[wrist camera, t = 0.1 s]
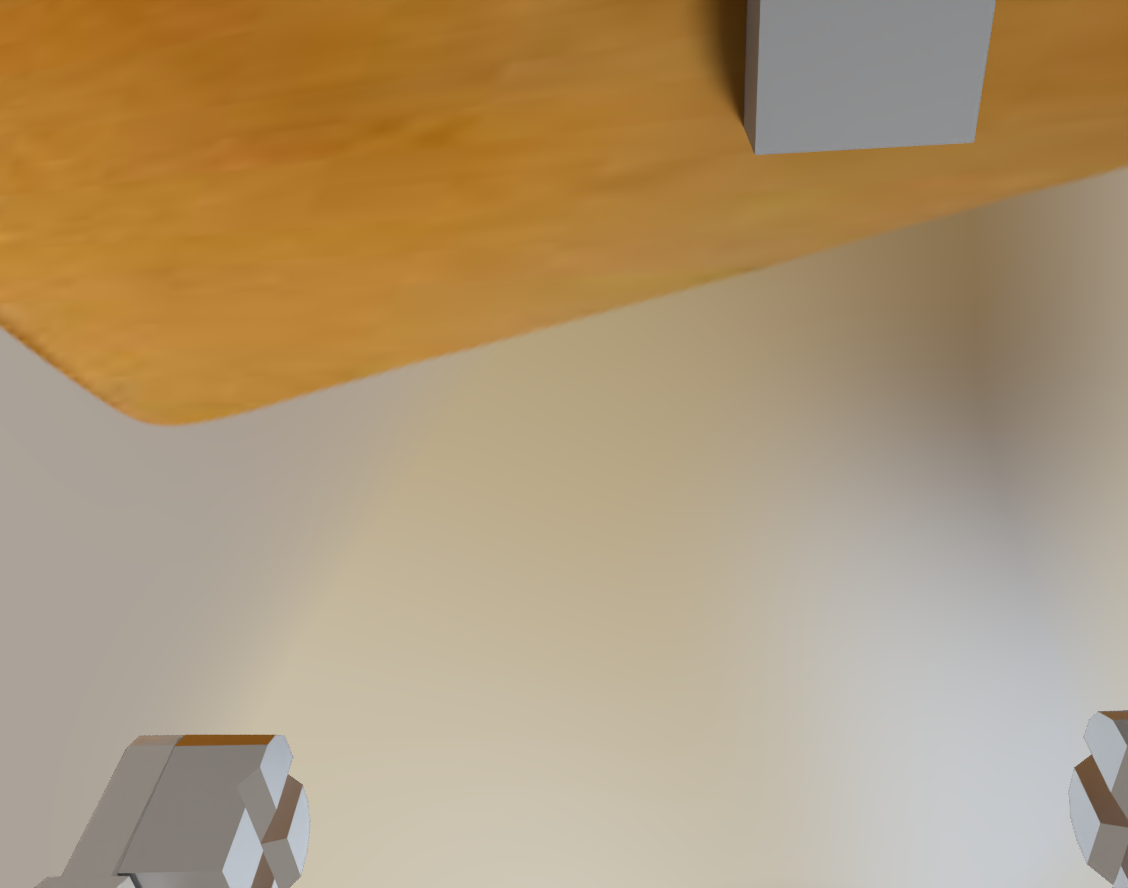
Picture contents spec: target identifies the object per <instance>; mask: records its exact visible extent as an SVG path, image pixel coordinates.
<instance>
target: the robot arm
mask: <svg viewBox="0 0 1128 888" xmlns="http://www.w3.org/2000/svg"><path fill="white" fill-rule="evenodd" d="M1084 739H1085V741H1086V743H1087V745H1088V747H1089V750H1090V752H1091V754H1092V755H1090V756H1089V757H1088V758H1086V759H1085V760H1084V761H1082V762H1081V763H1080V764H1078V765H1077V766H1076V767H1074V771H1073V775H1072V779H1071V784H1070V788H1069V802H1070V817H1071V821H1072V825H1073V829H1074V832H1075V835H1076V839H1077V842H1078V844H1079V847H1080V849H1081V851H1082V854H1083V856H1084V858H1085V861H1086V863H1087V864H1088V865H1089V866H1090V867H1091V868H1093V869H1094V870H1095V871H1096V872H1098V873H1099V874H1100V875H1101V876H1102V877H1104V878H1105V879H1106V880H1107V881H1109V882H1110V883H1111V884H1113V887H1112V888H1128V710H1123V711H1098V712H1097V713H1096V714H1095V715H1094V716H1093V717H1092V718H1091V719H1089V722H1088V725H1087V728H1086V731H1085V734H1084ZM292 759H293V755H292V753H291V750H290V748H289V745H288V743H287V740H286V738H285V736H281V735H154V736H139V737H138V738H137V739H136V740H134V741H133V742H132V743H131V744H130V745H129V746H128V747H127V749H126V750H125V752H124V754H123V756H122V758H121V760H120V761H119V764H118V765H117V767H116V769H115V771H114V773H113V775H112V777H111V779H110V781H109V783H108V785H107V787H106V789H105V791H104V793H103V795H102V797H101V799H100V801H99V803H98V805H97V807H96V809H95V811H94V813H93V815H92V817H91V819H90V821H89V823H88V824H87V827H86V828H85V830H84V832H83V834H82V836H81V838H80V840H79V842H78V844H77V846H76V848H75V850H74V852H73V854H72V856H71V858H70V860H69V862H68V864H67V866H66V868H65V870H64V872H63V874H62V876H59V877H46V878H45V879H44V880H43V881H41V882H40V883H39V884H38V885H37V886H35V887H34V888H290V887H291V886H292V885H293V883H295V882H296V881H297V880H298V879H299V878H300V877H301V874H302V870H303V866H304V862H305V859H306V855H307V851H308V841H309V829H310V815H309V806H308V799H307V796H306V793H305V790H304V787H303V785H302V784H301V783H299V782H298V781H297V780H295V779H294V778H293V777H291V776H290V775H288V772H289V769H290V765H291V762H292Z"/></svg>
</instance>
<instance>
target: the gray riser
mask: <svg viewBox="0 0 1128 888" xmlns="http://www.w3.org/2000/svg"><path fill="white" fill-rule="evenodd" d="M995 2H996V0H747V24H746V58H745V92H744V129H745V132H746V134H747V137H748V139H749V142H750V144H751V146H752V149H753V151H754V154H755V155H762V154H780V153H798V152H815V151H833V150H851V149H869V148H886V147H904V146H922V145H939V144H957V143H974V138H975V132H976V125H977V119H978V112H979V106H980V99H981V93H982V86H983V80H984V74H985V67H986V61H987V54H988V48H989V41H990V35H991V28H992V22H993V15H994V9H995Z"/></svg>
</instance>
